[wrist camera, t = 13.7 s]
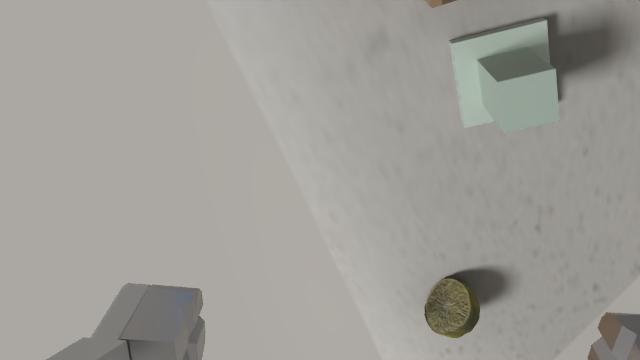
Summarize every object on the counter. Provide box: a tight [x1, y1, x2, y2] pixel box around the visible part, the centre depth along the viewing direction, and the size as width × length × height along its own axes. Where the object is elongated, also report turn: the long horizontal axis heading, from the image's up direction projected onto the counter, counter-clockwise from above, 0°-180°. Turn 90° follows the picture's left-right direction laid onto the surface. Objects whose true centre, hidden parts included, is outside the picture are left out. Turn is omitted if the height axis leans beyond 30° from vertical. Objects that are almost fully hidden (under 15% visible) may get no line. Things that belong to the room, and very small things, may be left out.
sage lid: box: [449, 18, 560, 133], centre depth 36 cm, size 7×7×7 cm
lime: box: [425, 278, 480, 338], centre depth 46 cm, size 4×5×5 cm
